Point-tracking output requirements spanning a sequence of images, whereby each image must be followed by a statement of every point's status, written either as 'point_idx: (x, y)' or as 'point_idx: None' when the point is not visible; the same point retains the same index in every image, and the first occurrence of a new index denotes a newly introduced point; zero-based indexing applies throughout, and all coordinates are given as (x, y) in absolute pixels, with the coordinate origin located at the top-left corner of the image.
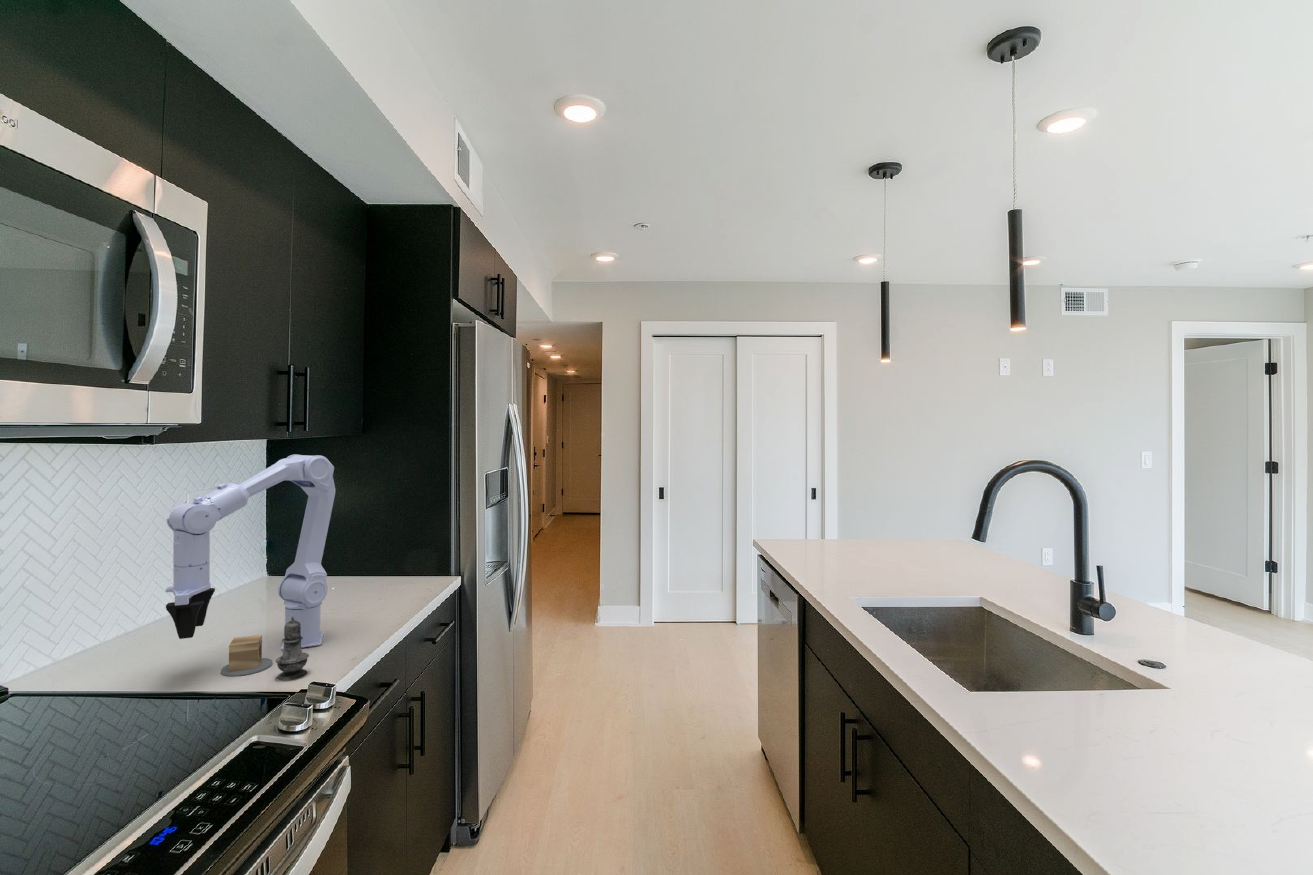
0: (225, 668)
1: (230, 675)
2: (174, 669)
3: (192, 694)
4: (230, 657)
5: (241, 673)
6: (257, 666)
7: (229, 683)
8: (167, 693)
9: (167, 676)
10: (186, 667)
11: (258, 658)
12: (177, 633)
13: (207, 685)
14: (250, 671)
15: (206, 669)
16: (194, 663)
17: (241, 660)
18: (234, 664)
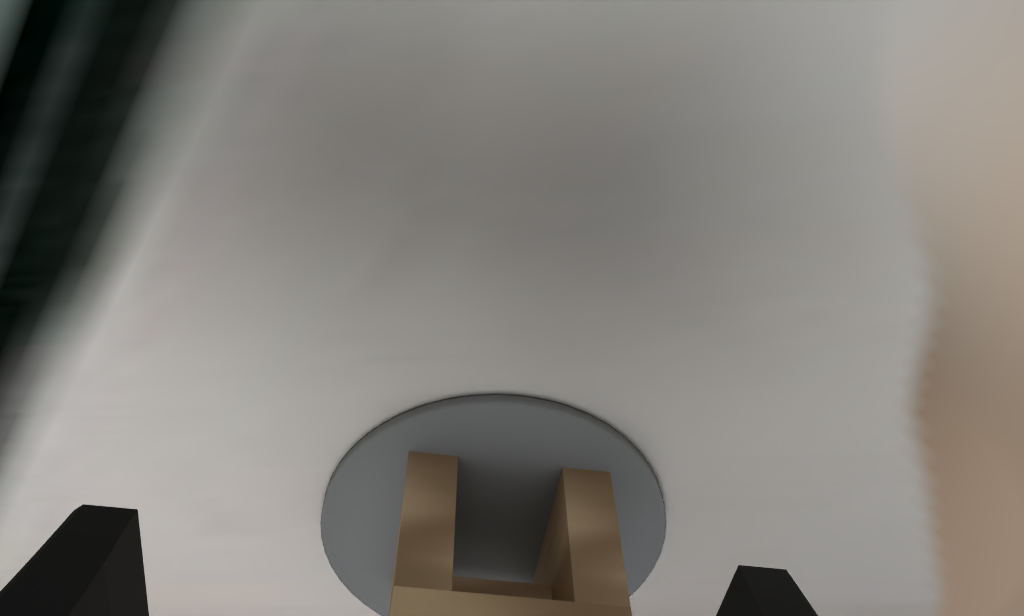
0: (521, 429)
1: (347, 455)
2: (858, 63)
3: (33, 252)
4: (397, 555)
5: (333, 512)
6: (390, 594)
7: (191, 447)
8: (136, 71)
9: (667, 22)
10: (836, 159)
11: None
12: (25, 566)
13: (213, 331)
14: (346, 553)
15: (646, 305)
16: (909, 212)
17: (393, 577)
18: (400, 522)
